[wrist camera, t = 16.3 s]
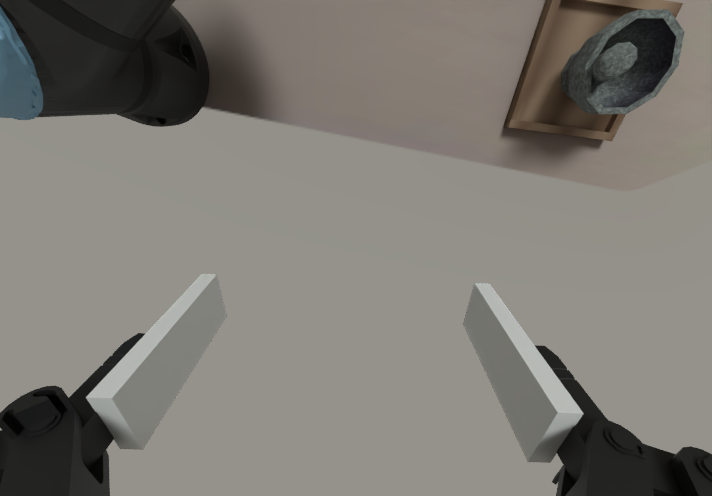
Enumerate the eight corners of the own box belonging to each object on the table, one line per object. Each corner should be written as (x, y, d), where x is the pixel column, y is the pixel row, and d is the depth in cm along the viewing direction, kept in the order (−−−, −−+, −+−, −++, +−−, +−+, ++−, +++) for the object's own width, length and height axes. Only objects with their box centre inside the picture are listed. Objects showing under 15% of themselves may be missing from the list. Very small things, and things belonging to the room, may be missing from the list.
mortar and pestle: (641, 26, 33) (772, -11, 23) (608, 112, 38) (706, 115, 27) (547, 27, 34) (634, -9, 23) (526, 112, 38) (590, 115, 27)
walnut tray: (503, 126, 39) (508, 127, 38) (549, -12, 32) (558, -17, 31) (603, 139, 40) (611, 141, 39) (669, 7, 33) (683, 3, 32)
